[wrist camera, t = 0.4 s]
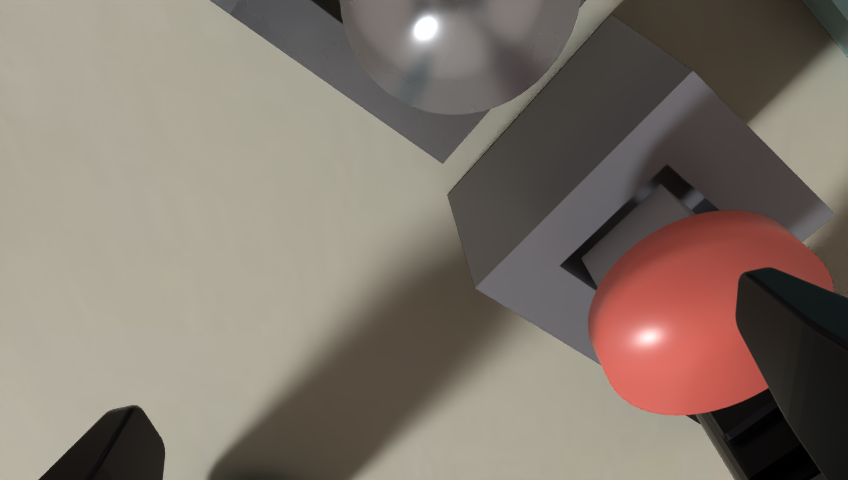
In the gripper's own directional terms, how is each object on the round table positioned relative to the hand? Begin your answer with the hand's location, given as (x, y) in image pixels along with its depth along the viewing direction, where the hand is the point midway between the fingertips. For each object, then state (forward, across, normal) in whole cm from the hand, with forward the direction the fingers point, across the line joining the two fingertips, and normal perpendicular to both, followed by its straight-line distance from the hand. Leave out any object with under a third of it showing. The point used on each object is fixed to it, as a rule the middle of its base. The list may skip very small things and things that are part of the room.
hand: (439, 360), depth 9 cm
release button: (+8, -6, +5) cm, 11 cm away
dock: (+13, -6, +5) cm, 15 cm away
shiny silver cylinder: (+13, -1, -4) cm, 14 cm away
